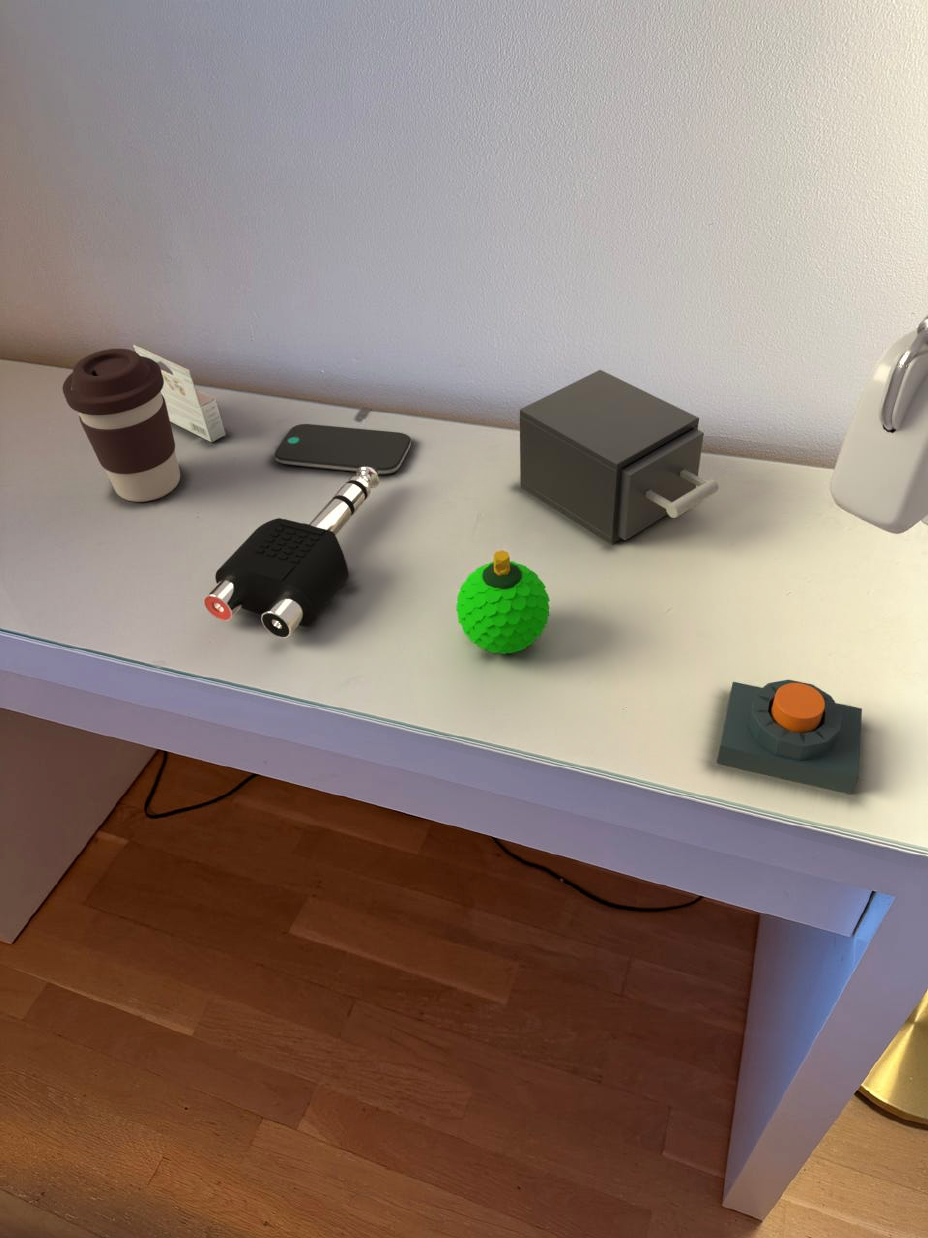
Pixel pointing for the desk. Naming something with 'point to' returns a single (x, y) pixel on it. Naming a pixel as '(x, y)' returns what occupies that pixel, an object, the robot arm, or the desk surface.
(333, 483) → the desk surface
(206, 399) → the ink box
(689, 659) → the desk surface
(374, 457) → the smartphone
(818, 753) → the control block
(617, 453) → the small drawer cabinet
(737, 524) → the desk surface
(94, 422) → the coffee cup
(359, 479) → the audio adapter
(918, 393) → the robot arm
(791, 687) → the button
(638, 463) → the drawer
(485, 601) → the ornament
